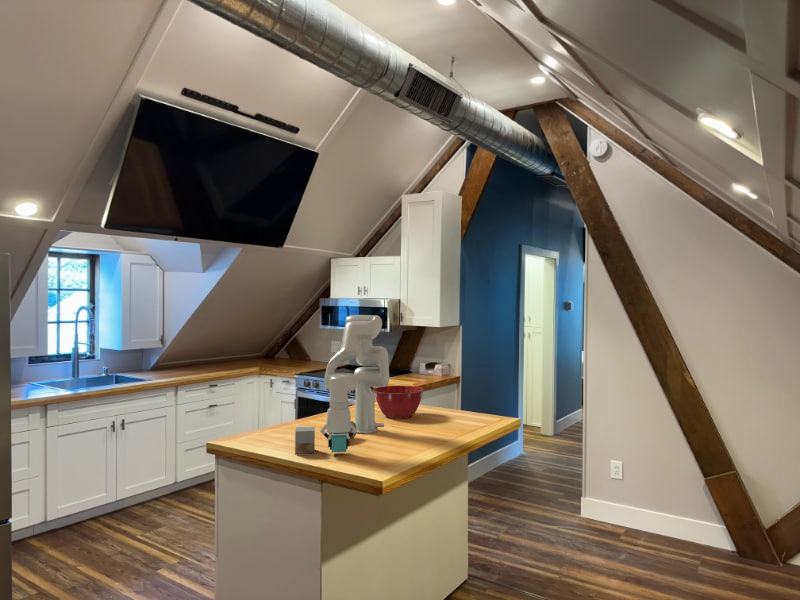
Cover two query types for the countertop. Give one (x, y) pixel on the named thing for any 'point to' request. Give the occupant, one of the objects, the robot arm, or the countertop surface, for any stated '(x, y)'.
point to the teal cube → (338, 442)
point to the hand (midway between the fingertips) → (338, 448)
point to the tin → (350, 431)
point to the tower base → (304, 448)
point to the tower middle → (305, 435)
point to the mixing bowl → (398, 400)
